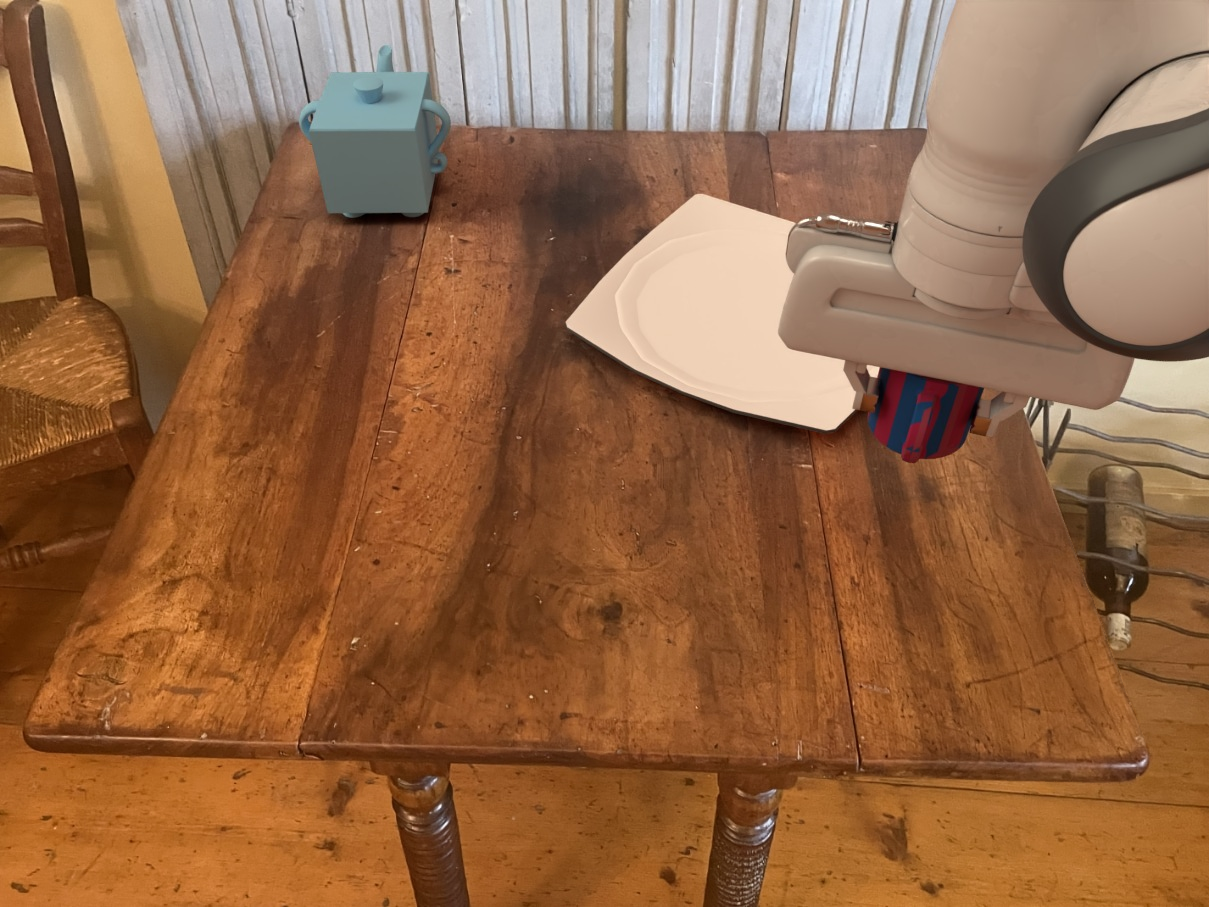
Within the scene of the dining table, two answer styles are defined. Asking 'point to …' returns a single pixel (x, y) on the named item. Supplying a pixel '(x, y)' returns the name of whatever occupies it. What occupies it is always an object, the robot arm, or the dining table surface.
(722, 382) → the plate
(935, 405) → the mug
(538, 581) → the dining table surface
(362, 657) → the dining table surface
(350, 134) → the teapot
